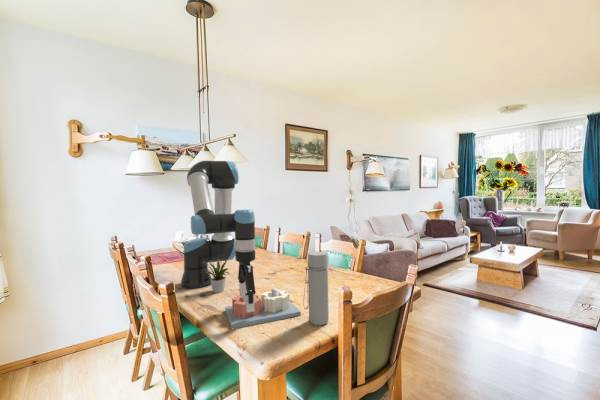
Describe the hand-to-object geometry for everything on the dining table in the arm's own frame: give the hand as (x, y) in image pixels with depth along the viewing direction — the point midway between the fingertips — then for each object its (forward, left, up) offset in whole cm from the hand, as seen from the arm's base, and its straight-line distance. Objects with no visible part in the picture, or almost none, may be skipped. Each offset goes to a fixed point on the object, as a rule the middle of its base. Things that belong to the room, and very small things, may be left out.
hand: (246, 305), depth 110 cm
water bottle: (+16, +22, -4) cm, 28 cm away
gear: (0, 0, -3) cm, 3 cm away
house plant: (-33, -8, -4) cm, 34 cm away
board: (0, +6, -4) cm, 7 cm away
